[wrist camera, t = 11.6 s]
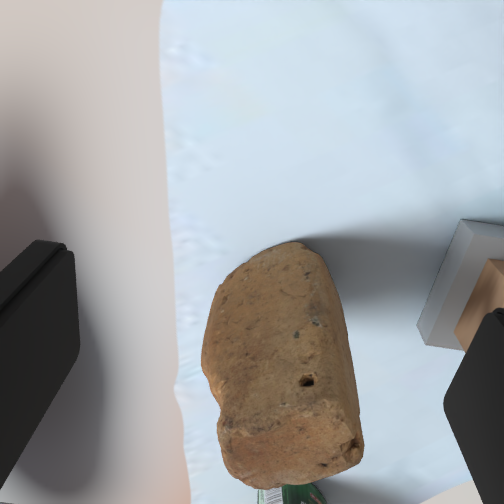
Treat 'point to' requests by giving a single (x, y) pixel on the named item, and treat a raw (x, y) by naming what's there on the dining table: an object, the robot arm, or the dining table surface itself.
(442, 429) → the dining table surface
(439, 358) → the dining table surface
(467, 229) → the slate plinth
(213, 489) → the dining table surface
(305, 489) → the coffee jar
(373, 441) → the dining table surface
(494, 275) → the walnut block
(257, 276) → the block
